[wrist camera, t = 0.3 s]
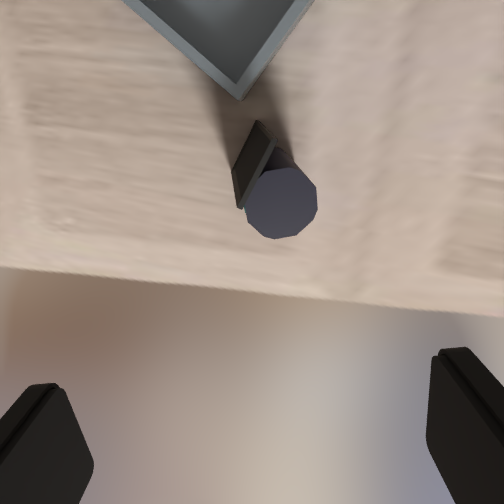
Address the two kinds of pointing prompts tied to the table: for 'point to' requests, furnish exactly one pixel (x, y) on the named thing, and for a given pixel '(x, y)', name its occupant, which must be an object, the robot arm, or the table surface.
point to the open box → (225, 34)
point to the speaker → (272, 187)
